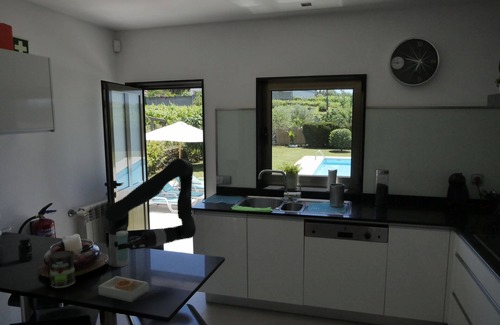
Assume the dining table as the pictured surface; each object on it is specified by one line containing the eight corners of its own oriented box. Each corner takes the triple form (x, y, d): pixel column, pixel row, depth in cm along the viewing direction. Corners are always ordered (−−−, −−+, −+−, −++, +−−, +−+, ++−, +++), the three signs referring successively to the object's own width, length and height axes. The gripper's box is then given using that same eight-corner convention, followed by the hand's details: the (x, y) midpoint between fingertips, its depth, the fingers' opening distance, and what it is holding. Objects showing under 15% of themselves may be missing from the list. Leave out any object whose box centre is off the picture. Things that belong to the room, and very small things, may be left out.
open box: (98, 294, 156) (98, 284, 156) (116, 284, 166) (116, 274, 166) (132, 302, 149) (131, 292, 149) (148, 291, 160) (148, 281, 159)
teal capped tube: (114, 260, 155) (113, 233, 154) (122, 256, 159) (121, 230, 158) (123, 261, 153) (122, 234, 152) (131, 257, 158) (130, 231, 156)
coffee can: (73, 286, 164) (71, 256, 162) (48, 289, 161) (46, 259, 159) (77, 277, 174) (75, 249, 172) (53, 279, 171) (52, 251, 169)
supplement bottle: (32, 261, 193) (30, 240, 192) (17, 263, 191) (15, 241, 190) (34, 257, 200) (33, 236, 198) (20, 258, 197) (18, 237, 196)
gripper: (147, 226, 169) (110, 233, 159) (160, 233, 158) (121, 241, 148) (148, 242, 170) (111, 250, 160) (160, 250, 159) (121, 259, 149)
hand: (116, 246), depth 154 cm, fingers closed on teal capped tube, 4 cm apart
